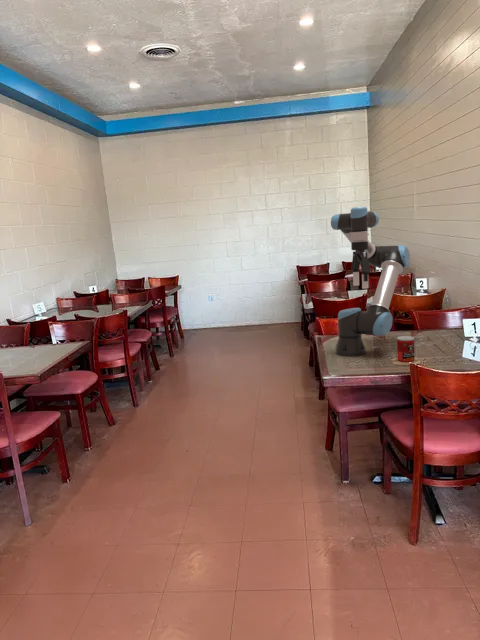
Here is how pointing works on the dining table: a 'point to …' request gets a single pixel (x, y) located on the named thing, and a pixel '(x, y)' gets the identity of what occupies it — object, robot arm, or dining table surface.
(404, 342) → the canned food
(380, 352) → the dining table surface
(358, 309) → the robot arm
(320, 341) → the dining table surface
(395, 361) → the disc
